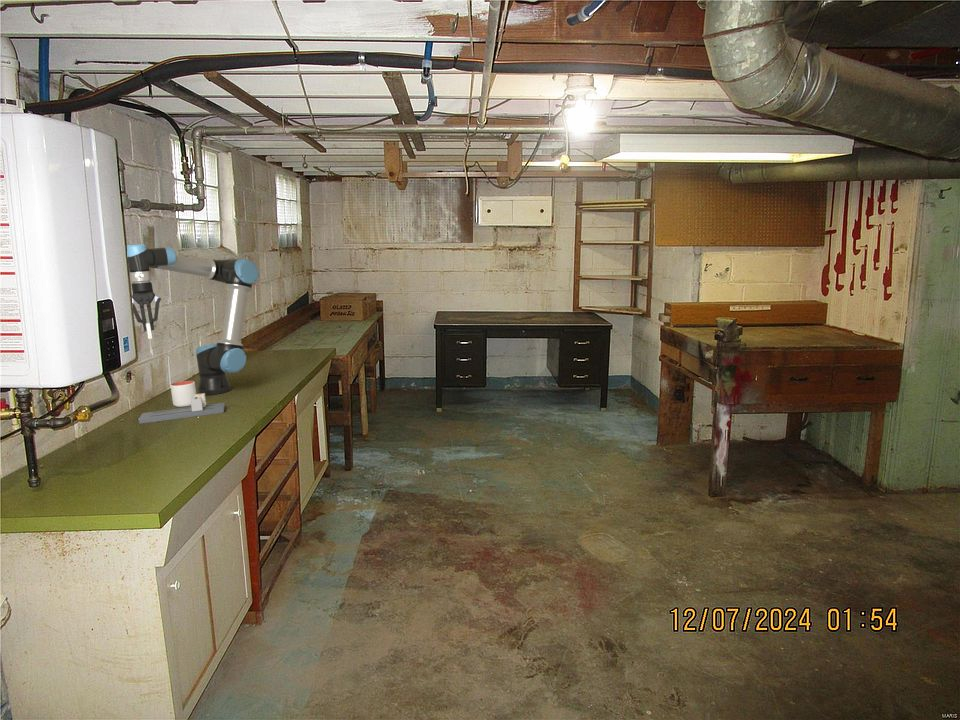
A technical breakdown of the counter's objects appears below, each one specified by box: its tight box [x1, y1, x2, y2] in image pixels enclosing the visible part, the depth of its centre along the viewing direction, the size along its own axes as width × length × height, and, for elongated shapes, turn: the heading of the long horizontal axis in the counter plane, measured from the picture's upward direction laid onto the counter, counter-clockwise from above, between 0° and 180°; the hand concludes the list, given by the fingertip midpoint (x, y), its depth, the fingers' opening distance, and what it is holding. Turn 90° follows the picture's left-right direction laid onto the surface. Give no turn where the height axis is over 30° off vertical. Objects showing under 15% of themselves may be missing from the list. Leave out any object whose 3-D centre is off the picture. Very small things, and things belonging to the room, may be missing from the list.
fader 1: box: [194, 393, 207, 407], centre depth 272 cm, size 4×4×5 cm
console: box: [138, 402, 226, 425], centre depth 268 cm, size 10×32×2 cm, turn 109°
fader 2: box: [190, 397, 203, 412], centre depth 266 cm, size 4×4×5 cm
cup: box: [170, 380, 197, 408], centre depth 285 cm, size 10×10×10 cm
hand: (150, 338), depth 268 cm, fingers closed
